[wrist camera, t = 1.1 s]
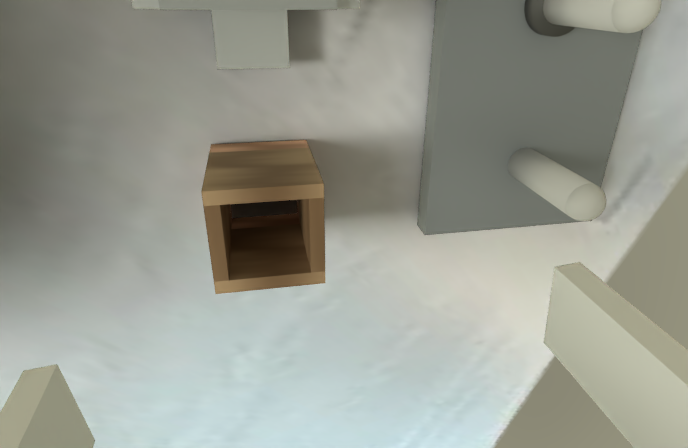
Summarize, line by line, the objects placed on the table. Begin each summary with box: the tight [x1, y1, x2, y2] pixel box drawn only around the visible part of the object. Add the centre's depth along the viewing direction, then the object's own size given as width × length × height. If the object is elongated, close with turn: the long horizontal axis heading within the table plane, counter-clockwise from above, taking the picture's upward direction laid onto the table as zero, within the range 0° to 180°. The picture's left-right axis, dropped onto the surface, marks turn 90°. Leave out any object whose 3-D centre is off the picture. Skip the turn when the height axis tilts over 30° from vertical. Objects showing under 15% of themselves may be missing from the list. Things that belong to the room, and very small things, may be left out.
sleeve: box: [201, 140, 325, 294], centre depth 25 cm, size 5×5×7 cm
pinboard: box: [417, 0, 661, 235], centre depth 25 cm, size 12×18×8 cm, turn 0°
